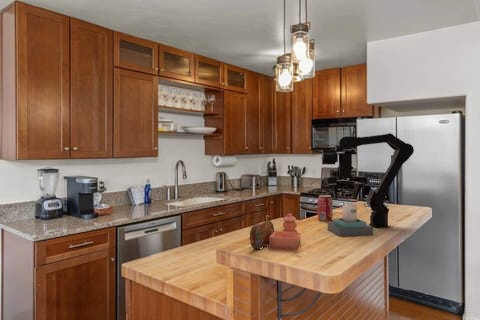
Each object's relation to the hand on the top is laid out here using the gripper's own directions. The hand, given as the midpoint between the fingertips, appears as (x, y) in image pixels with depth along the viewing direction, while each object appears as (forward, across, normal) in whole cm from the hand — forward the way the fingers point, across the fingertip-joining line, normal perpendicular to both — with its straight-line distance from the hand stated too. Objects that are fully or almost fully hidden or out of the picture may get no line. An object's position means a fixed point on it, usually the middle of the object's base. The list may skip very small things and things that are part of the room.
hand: (345, 199), depth 150 cm
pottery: (+12, +34, +23) cm, 43 cm away
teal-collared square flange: (+12, +4, +12) cm, 17 cm away
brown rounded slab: (+12, +44, +26) cm, 52 cm away
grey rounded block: (+9, +4, +12) cm, 15 cm away
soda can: (+12, +4, -14) cm, 19 cm away
